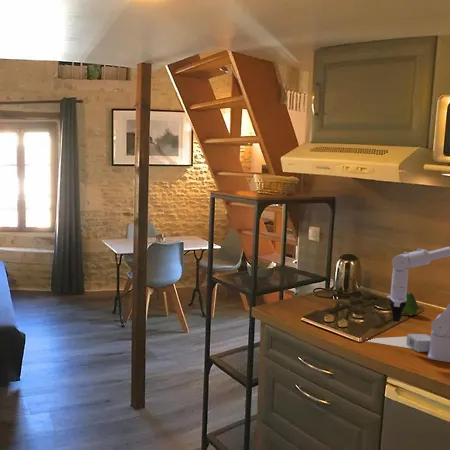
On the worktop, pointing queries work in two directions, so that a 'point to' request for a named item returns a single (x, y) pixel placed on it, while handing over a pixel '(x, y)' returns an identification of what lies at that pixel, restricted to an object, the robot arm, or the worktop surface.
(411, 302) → the avocado
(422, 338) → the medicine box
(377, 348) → the worktop surface
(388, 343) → the card
